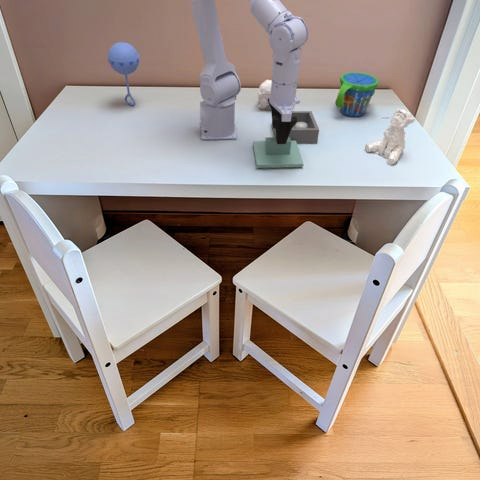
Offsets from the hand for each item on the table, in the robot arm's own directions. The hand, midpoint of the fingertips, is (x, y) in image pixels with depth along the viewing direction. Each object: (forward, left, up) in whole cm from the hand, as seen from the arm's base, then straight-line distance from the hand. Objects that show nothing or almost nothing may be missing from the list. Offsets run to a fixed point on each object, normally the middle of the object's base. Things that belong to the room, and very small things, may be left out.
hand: (279, 135), depth 99 cm
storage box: (+6, +12, -6) cm, 15 cm away
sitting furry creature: (+29, +1, -6) cm, 30 cm away
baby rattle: (-41, +31, -6) cm, 52 cm away
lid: (0, 0, -6) cm, 6 cm away
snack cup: (+26, +25, -6) cm, 37 cm away
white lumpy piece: (+1, +31, -6) cm, 32 cm away
